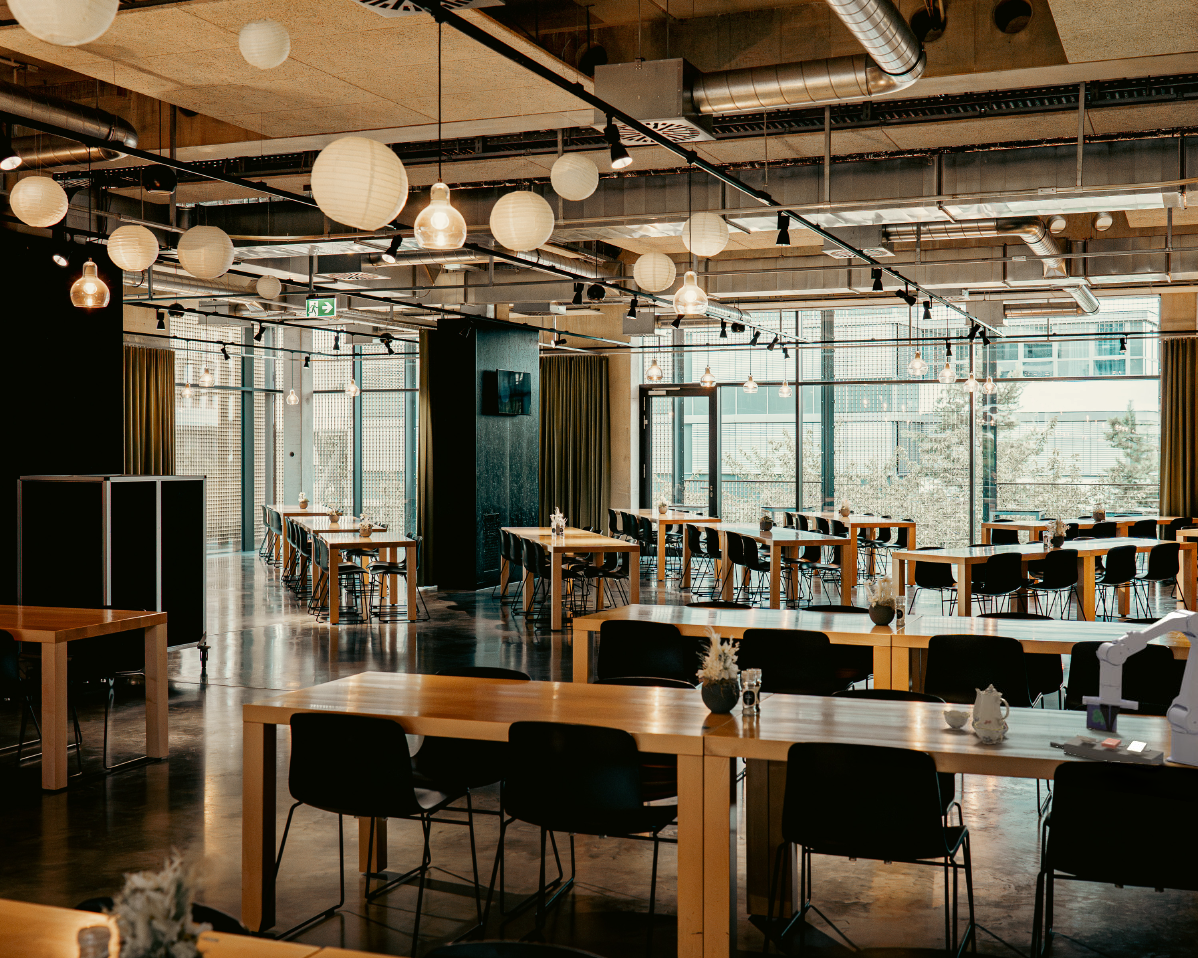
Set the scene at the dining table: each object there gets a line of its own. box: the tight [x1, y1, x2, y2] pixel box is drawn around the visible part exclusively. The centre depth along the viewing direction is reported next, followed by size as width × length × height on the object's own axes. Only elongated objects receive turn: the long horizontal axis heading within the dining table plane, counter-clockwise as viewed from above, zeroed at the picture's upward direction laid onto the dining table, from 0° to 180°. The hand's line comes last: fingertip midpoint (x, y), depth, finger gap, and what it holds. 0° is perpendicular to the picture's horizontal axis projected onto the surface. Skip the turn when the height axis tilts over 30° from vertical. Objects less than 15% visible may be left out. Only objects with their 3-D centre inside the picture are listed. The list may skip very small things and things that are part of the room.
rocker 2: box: [1127, 740, 1148, 755], centre depth 311 cm, size 4×6×2 cm, turn 137°
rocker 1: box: [1076, 734, 1097, 743], centre depth 320 cm, size 4×6×2 cm, turn 138°
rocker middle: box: [1101, 737, 1122, 749], centre depth 315 cm, size 4×6×2 cm, turn 137°
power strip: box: [1049, 736, 1165, 765], centre depth 319 cm, size 30×12×3 cm, turn 47°
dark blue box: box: [1085, 703, 1118, 733], centre depth 351 cm, size 9×3×11 cm, turn 51°
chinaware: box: [942, 684, 1010, 745], centre depth 340 cm, size 28×17×17 cm, turn 20°
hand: (1109, 730), depth 313 cm, fingers closed
